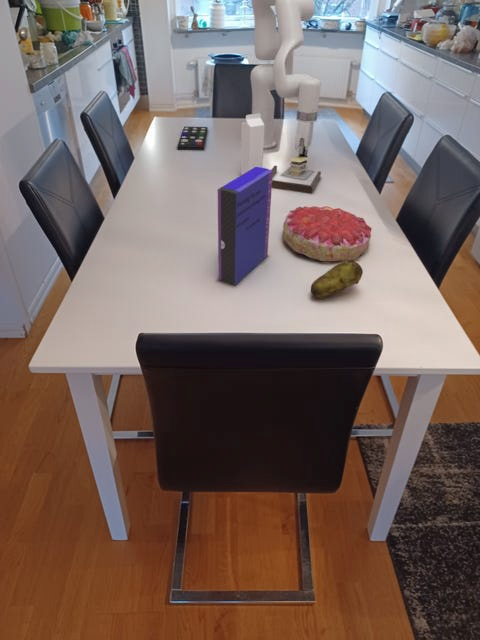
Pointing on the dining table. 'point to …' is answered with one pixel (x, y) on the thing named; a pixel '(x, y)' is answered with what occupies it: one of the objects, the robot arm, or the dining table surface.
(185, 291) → the dining table surface
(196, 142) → the remote control
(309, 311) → the dining table surface
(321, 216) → the cake
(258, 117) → the milk
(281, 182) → the sponge rest
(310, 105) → the robot arm
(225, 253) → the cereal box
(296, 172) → the stacked layers on plate
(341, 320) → the dining table surface
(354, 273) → the green pickle
